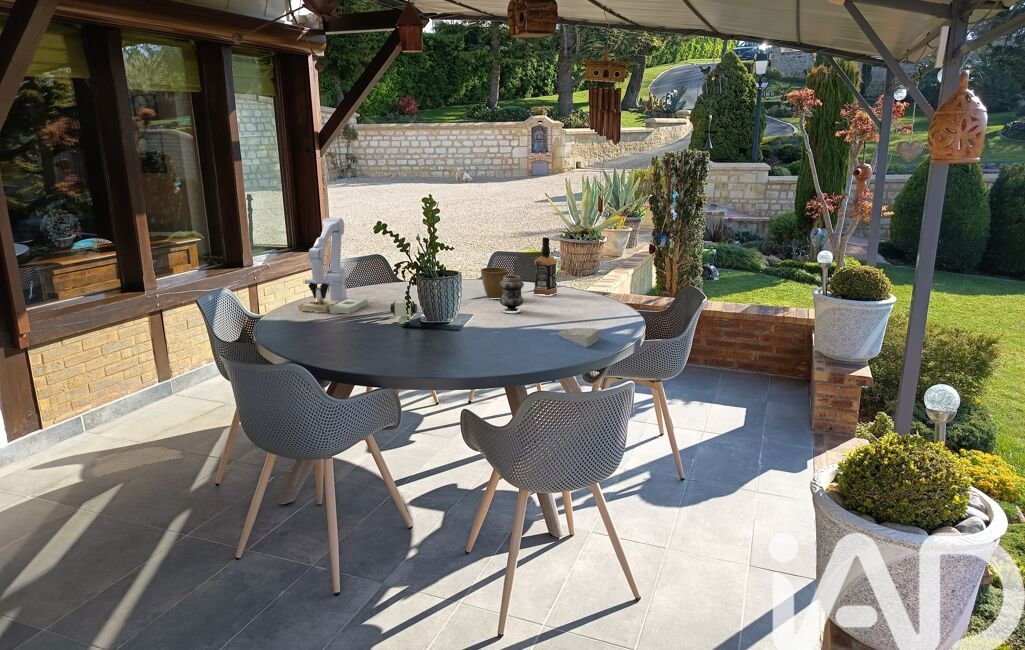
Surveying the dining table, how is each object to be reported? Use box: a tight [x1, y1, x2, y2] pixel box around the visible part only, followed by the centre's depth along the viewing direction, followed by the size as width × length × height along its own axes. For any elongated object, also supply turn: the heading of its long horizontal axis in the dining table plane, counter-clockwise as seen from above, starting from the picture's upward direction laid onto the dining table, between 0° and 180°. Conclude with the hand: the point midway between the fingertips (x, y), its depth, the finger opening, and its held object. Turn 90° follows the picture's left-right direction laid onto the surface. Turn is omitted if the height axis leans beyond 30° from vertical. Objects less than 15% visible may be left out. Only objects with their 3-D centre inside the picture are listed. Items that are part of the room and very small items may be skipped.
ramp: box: [557, 327, 600, 347], centre depth 299 cm, size 28×16×5 cm, turn 11°
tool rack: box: [329, 297, 368, 315], centre depth 357 cm, size 22×10×3 cm, turn 167°
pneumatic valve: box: [389, 298, 418, 324], centre depth 324 cm, size 6×12×12 cm, turn 85°
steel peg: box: [315, 286, 325, 305], centre depth 355 cm, size 4×4×9 cm
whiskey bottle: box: [533, 236, 558, 295], centre depth 384 cm, size 10×10×32 cm
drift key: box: [297, 301, 316, 310], centre depth 358 cm, size 6×8×2 cm
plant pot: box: [480, 266, 509, 299], centre depth 377 cm, size 15×15×16 cm
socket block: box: [300, 299, 340, 313], centre depth 356 cm, size 14×14×3 cm
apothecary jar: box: [499, 274, 525, 311], centre depth 347 cm, size 12×12×18 cm
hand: (319, 298), depth 355 cm, fingers closed on steel peg, 4 cm apart
